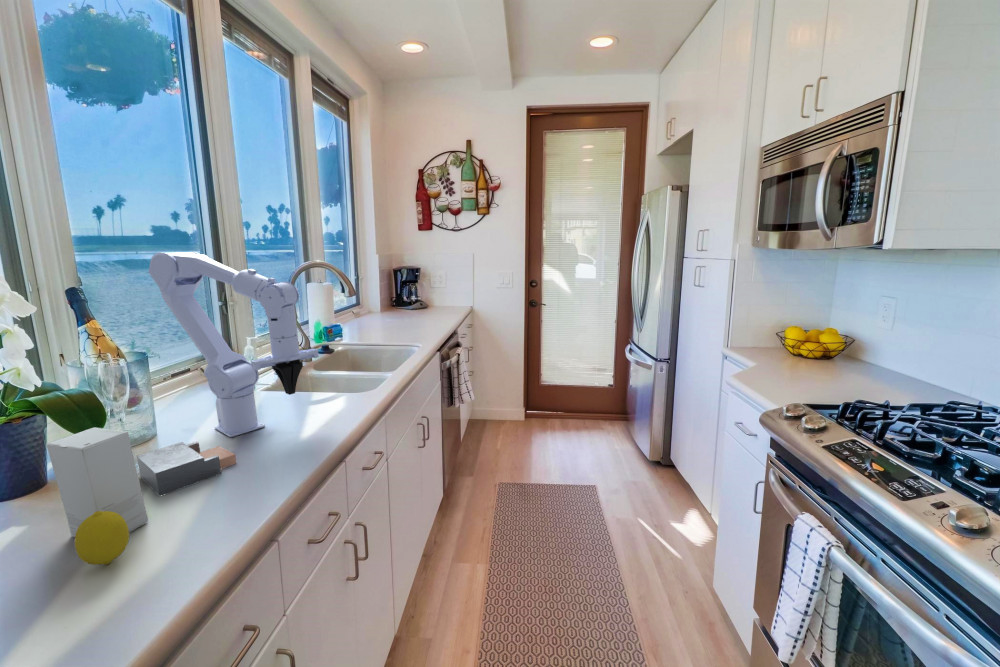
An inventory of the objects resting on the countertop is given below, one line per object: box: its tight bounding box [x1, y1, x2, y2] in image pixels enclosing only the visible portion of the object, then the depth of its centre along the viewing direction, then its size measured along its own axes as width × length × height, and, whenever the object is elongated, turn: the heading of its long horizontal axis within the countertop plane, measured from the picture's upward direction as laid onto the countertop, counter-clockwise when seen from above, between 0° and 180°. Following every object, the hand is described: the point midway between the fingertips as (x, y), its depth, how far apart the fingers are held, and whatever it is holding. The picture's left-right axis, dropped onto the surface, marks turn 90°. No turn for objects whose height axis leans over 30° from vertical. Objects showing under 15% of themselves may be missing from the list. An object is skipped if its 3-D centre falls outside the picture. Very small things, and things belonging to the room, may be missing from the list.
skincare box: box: [46, 426, 149, 538], centre depth 69 cm, size 8×7×16 cm
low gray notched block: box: [136, 441, 222, 497], centre depth 87 cm, size 11×10×4 cm
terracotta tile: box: [198, 445, 237, 469], centre depth 89 cm, size 7×12×2 cm, turn 146°
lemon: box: [74, 511, 130, 566], centre depth 62 cm, size 6×6×8 cm
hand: (290, 393), depth 105 cm, fingers closed
